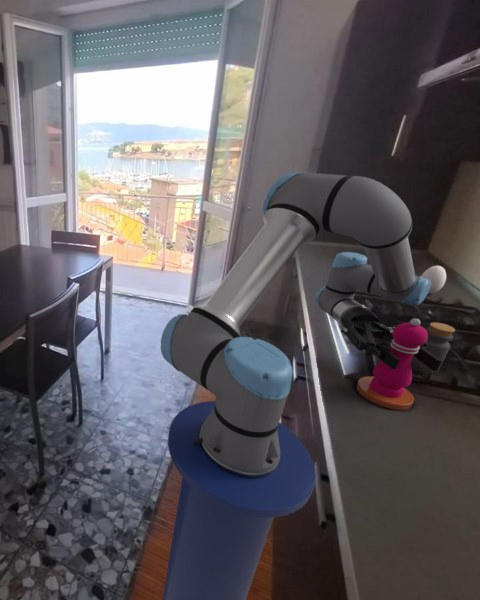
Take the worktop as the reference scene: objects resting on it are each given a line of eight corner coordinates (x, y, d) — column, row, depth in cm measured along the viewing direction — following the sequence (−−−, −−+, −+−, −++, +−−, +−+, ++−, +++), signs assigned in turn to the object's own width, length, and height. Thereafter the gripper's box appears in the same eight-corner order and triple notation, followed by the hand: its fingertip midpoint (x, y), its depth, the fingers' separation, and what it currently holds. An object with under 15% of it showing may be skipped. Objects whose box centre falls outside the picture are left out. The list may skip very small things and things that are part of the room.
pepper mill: (392, 402, 84) (426, 329, 76) (360, 384, 90) (388, 315, 82) (411, 395, 87) (446, 323, 78) (378, 378, 93) (408, 309, 84)
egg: (442, 294, 144) (455, 267, 139) (434, 298, 141) (446, 270, 136) (419, 288, 150) (431, 261, 145) (411, 291, 146) (422, 264, 142)
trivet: (366, 405, 86) (369, 400, 85) (349, 377, 95) (351, 373, 95) (421, 413, 83) (424, 408, 82) (398, 384, 92) (400, 380, 92)
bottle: (439, 382, 93) (465, 333, 87) (413, 380, 94) (437, 331, 88) (423, 369, 98) (447, 322, 92) (400, 367, 99) (421, 320, 93)
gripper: (389, 331, 101) (460, 381, 80) (312, 328, 103) (361, 376, 82) (399, 307, 98) (475, 353, 77) (319, 304, 99) (372, 349, 79)
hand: (416, 365), depth 80 cm, fingers open, 8 cm apart
